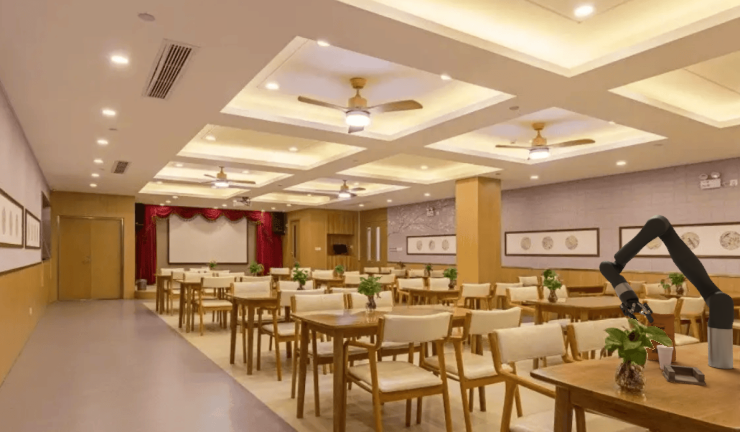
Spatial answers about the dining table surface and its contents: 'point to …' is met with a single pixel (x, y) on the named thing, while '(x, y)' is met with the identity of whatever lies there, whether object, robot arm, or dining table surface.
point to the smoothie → (664, 355)
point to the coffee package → (666, 325)
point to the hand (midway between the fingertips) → (644, 322)
